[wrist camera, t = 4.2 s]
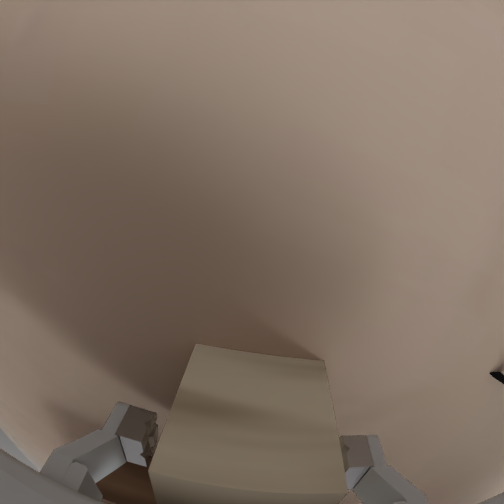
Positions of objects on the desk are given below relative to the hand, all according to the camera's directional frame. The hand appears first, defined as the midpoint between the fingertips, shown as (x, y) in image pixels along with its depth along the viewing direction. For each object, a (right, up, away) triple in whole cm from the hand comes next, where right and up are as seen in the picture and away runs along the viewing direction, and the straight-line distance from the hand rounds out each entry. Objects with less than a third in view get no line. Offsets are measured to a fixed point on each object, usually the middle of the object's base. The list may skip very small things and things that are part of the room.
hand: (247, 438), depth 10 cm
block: (0, +1, +2) cm, 2 cm away
